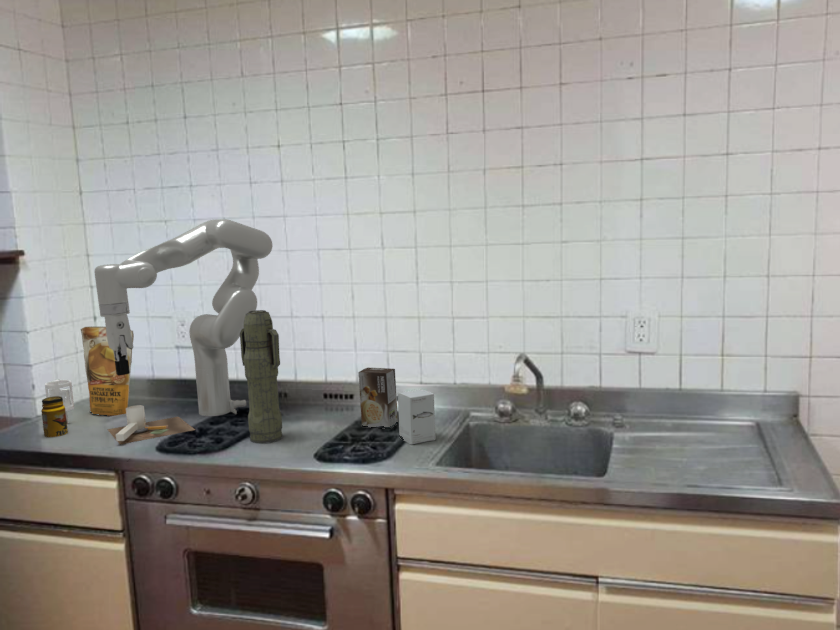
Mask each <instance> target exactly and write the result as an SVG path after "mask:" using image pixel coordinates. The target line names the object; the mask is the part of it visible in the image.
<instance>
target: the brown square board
mask: <svg viewBox="0 0 840 630" xmlns="http://www.w3.org/2000/svg"><path fill="white" fill-rule="evenodd" d="M146 425H148V426H149V427H153V426H166V429H152V430H147V431H145V432H141V433H134V434H131V435H130V436H129V437H128V438H127V439H125V440H124V441H116V442H117V443H118V445H124V444H131V443H137V442H140V441H141V442H142V441H146V440H152V439H156V438H161V437H166V436H172V435H177V434H182V433H186V432H193V431H195V430H196V428H194V427H193V426H191V425H190V424H189V423H187V422H186V421H184V420H183V419H182V418H181V417H179V416H173V417H170V418H162V419H157V420H152V421H148V422H147V421H146ZM126 426H127V425H123V426H119V427H114V428H113V427H112V428H108V429H107V431H108V432H109V433H110V435H111V436H112V437H113V438H114V439H115V440H116V434H117V433H118V432H119V431H121V430H122V429H123V428H124V427H126Z"/></svg>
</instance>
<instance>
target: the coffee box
mask: <svg viewBox="0 0 840 630" xmlns="http://www.w3.org/2000/svg"><path fill="white" fill-rule="evenodd" d="M357 373H358V375H357V376H358V384H359V385H358V390H359V402H360V418H361V419H360V420H361V426H362V425H363V426H368V427H367V428H371V427H376V426H384V427H390V426H392V425H393V424H395V423H396V422H398V423H399V414H398V396H397V385H396V383H397V382H396V369H395V368H390V367H387V368H385V367H366V368H363V369H361V370H359V371H358V372H357Z"/></svg>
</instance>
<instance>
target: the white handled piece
mask: <svg viewBox="0 0 840 630" xmlns="http://www.w3.org/2000/svg"><path fill="white" fill-rule="evenodd" d="M125 416H126V424H127V425H125V426H126V427H124V428H123V429H122V430H121V431H119V432H118V433H117V434H116V439H115V441H116V442H117V441H124V440H125V439H127V438H128V437H129V436H130V435H131V434H134V433H141V432H145V431H147V430H152V429H166V426H153V427H149V426H148V425H146V422H147V421H146V413H145V406H144V405H140V404H136V405H130V406H128V407H127V408H126V414H125Z"/></svg>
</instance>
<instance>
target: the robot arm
mask: <svg viewBox="0 0 840 630" xmlns="http://www.w3.org/2000/svg"><path fill="white" fill-rule="evenodd" d="M217 249H229V250H230V254H231V257H232V266H231V269H230V271H229V273H228V275H227V276H226V278H225V279H224V281H223V282H222V283H221V285H220V286H219V288H218V289H217V291H216V292H215V294H214V296H213V298H212V300H211V304H212V309H213V310H214V312H216V313H217V314H218V315H217V314H209V313H208V314H201V315H199V316H196V317H195V318H194V319H193V320H192V322H191V323H190V325H189V333H188V334H189V339H190V344H191V348H192V351H193V358H194V371H195V378H196V379H195V381H196V383H195V384H196V392H197V393H196V394H197V405H198V415H199V416H202V417H218V416H223V415H227V414H229V413H232V414H234V415H237V414H238V413H237V410H236V409H237V408H239V407H240V408H241V407H246V406H247V401H246V399H242V400H240V399H237V400H232V398H231V393H230V392H231V391H230V379H229V367H228V366H229V365H228V356H227V351H226V349H228V348H230V347H232V346H233V345H235V344H236V342H238V339H240V332H241V330H242V329H243V328H244V319H245V315H246V313H248V312H249V311H256V310H257V307H258V298H257V295H256V294H255V292H254V291H253V289H254V287H255V286H256V283H257V281H258V279H259V275H260V267H259V260H261V259H264V258H266V257H268V256H269V255H270V254H271V252H272V250H273V240H272V239H271V237H270V236H269V234H268V233H266V232H265V231H263V230H260V229H258V228H255V227H252V226H249V225H246V224H242V223H239V222H237V221H234V220H232V219H226V218H221V219H209V220H207V221H205V222H202V223H200V224H199V225H196V226H195V227H192V228H190V229H188V230H186V231H185V232H183V233H181V234H179V235H176V236H175V237H173V238H170V239H168V240H165V241H163V242H162V243H159V244H157V245H154V246H152V247H150V248H148V249H145V250H143V251H141V252H138V253H137V254H135V255H133V256H131V257H129V258H128V259H125V260H122V262H121V263H120V264H118V263H112V264H111V263H110V264H102V265H98V266H96V267H95V268H94V278H95V279H94V280H95V287H96V293H97V301H98V309H99V310H98V311H99V317H102V318H103V317H104V323H105V327H106V333H107V340H108V345H109V348H111V349H112V350H113V352H114V358H115V367H116V374H117V375H118V376H120V375H126V374H129V373H130V374H131V372H130V371H129V363H128V357H127V348H129V349H132V350H133V349H134V340H133V341H132V336H131V331H132V329H131V325H130V322H129V318H128V314H130V313H131V312H130V304H129V303H130V302H129V298H128V297H129V296H128V289H146V288H148V287H151V286H152V285H153V284H155V282H156V280H157V278H158V273H160V272H164V271H166V270H170V269H175V268H181V267H184V266H187V265H189V264H192V263H193V262H196V261H197V260H198V259H200V258H203V256H206V255H207V254H209V253H211V252H213V251H215V250H217ZM130 329H131V330H130ZM116 360H117V361H116Z"/></svg>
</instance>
